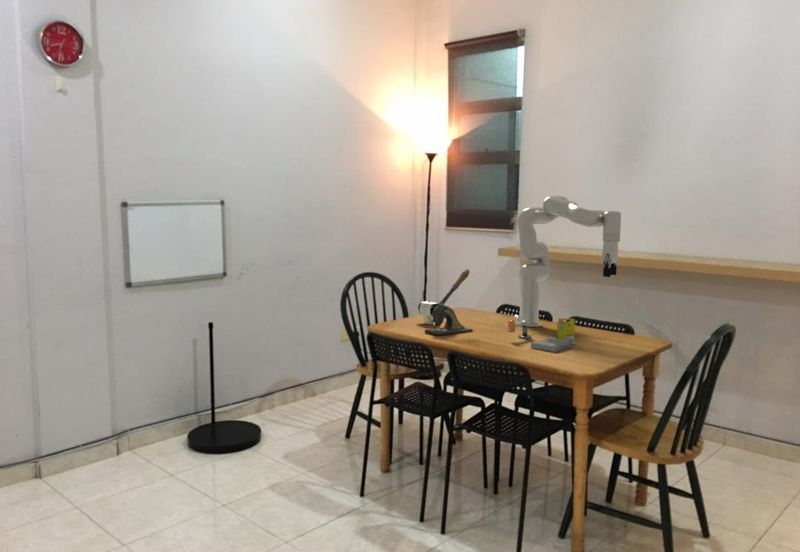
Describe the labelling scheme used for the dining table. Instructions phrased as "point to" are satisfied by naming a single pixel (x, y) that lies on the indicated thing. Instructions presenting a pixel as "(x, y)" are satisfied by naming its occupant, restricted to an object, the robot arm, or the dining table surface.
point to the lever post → (524, 333)
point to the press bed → (551, 345)
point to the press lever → (517, 324)
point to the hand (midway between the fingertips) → (609, 275)
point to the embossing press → (448, 314)
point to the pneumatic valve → (427, 311)
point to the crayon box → (566, 330)
